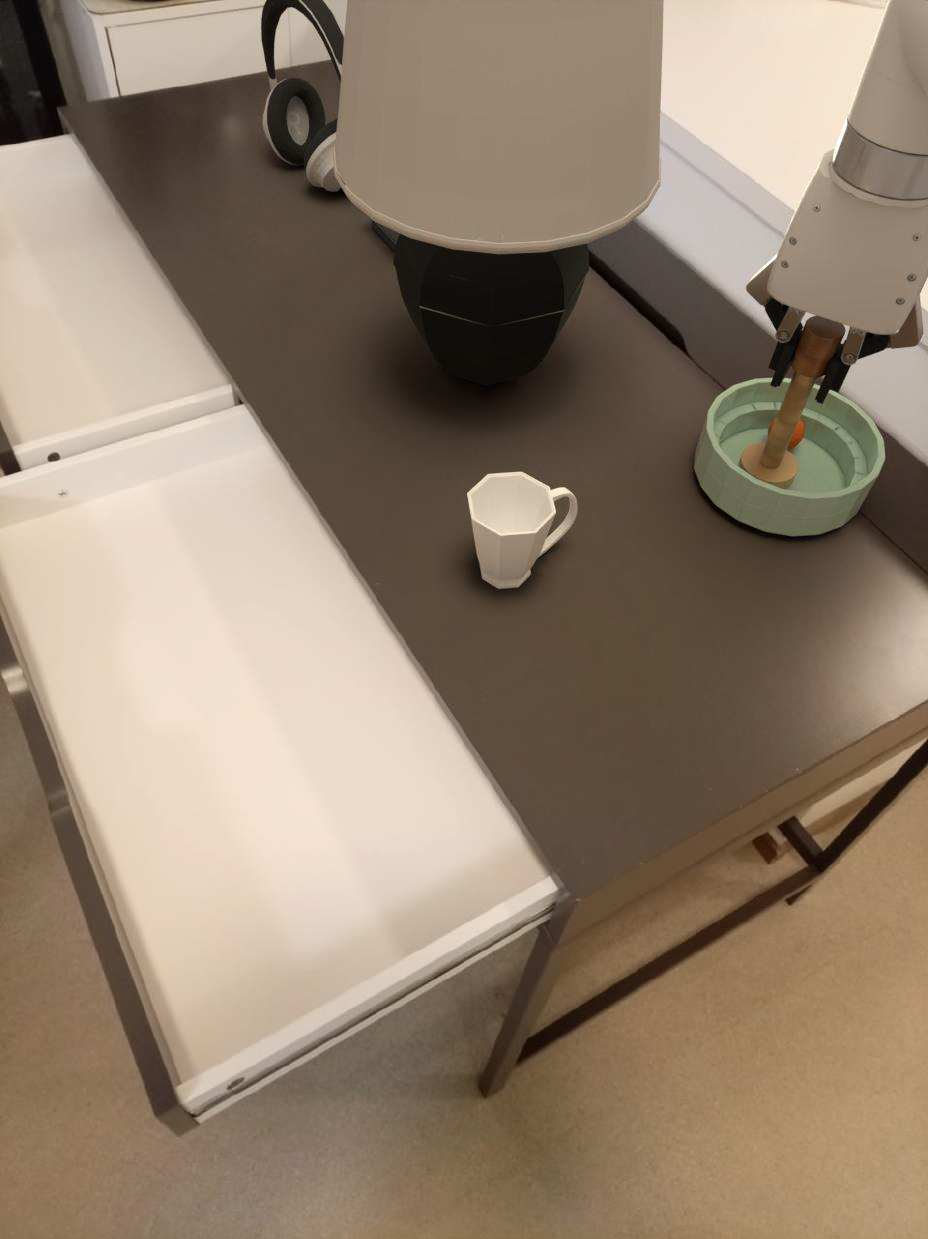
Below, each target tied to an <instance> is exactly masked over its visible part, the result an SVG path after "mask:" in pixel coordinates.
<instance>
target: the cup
mask: <svg viewBox="0 0 928 1239" xmlns="http://www.w3.org/2000/svg"><path fill="white" fill-rule="evenodd" d="M466 496H467V501H468V502H467V503H468V509H469V513H470V521H471V527H472V535H473V540H474V547H475V552H476V556H477V560H478V563H479V568H480V574H481V579H482V580H483V581H485V582H487V583H488V584H490V585H491V586H493V587H495V588H496V589H498V590H502V589H512V588H515V589H516V588H519V587H520V586H521V585H522V584H524V582H525V581H526V580H527V579H528V578H529V577H530V576H531V573H532V572H531V569H532V568H533V566H534V565H535V563H536V561H537V560H538V559H539V557H541V556H542V555H544V554H545V553H546V552H548V550H550V549H551V548H552V547H553V546H554V545H555V544H556V543H557V542H558V541H559V540H561V538H563V537H564V536H565V535H566V533H567V532H568V531H569V530H570V529H571V527H572V526H573V524H574V523H575V521H576V518H577V516H578V510H579V509H578V508H579V505H578V500H577V497H576V495H574V494H573V492H571V490H569V489H568V488H566V487H563V486H562V487H556V488H552V489H551V487H550V486H549V485H547V484H545V483H544V482H541V481H540V480H537V479H536V478H534V477H532V476H530V475H529V474H527V473H525V472H523V471H511V472H496V473H495V472H494V473H488V474H486V475H485V476H484V477H483V478H482V479H481V480H480V481H479V482H477V483H476V485H474V486H473V487H472V488H470V490H469V491H468V492H467V493H466ZM561 498H568V501H569V504H568V505H569V506H568V512H567V514H566V515H565V518H564V520H563V521H562V522H561V523H560V524H559V525H558V526H557V528H556V529H555V530H553V531H552V533H550V535H548V534H549V532H550V530H551V527H552V524H553V522H554V520H555V517H556V514H557V510H556V507H555V502H556V501H557V500H560V499H561Z"/></svg>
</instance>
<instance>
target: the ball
mask: <svg viewBox="0 0 928 1239" xmlns="http://www.w3.org/2000/svg"><path fill="white" fill-rule="evenodd" d="M775 419H776V418H775ZM775 419H774V420H773V421H772V422H771V424H770V426H769V428H768V437H769V434H770V432H771V429H772V427H773V424H774V422H775ZM804 433H805V428H804V424H803V422H802V421H801V419H799V421H798V424H797V426H796V428H795V431H794V433H793V435H792V438H791V440H790V442H789V445H788V447H787V449H791V448H793V447H795V446H797V445H798V444H799V443H800V442H801V441H802V439H803V437H804Z"/></svg>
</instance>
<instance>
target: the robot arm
mask: <svg viewBox="0 0 928 1239" xmlns="http://www.w3.org/2000/svg"><path fill="white" fill-rule="evenodd" d="M779 246H780V247H779V249H778V252H777V253H776V254H775V255H774V256H773V257H772V258H771V259H770V260H768V262H766V264H764V265H763V266H762V267H761V268H760V269H759V270H758V271H757V272H755V274H753V275H752V276H751V278H750V279H749V281H748V282H747V284H746V286H745V290H746V292H747V294H749V296H751V297H752V299H753V300H755V302H757V303H758V304H759V305H760V306H762V307H763V308H764V311H765V313H766V315H767V317H768V319H769V321H770V322H771V324H772V326H773V328H774V329H775V331H776V332H775V338H776V340H777V343H776V346H775V348H774V351H773V353H772V356H771V359H770V361H769V364H768V367H767V368H768V369H769V370H771V371H772V370H773V371H774V374H773V376H772V378H773V379H772V381H771V384H770V386H773V387H777V386H778V387H779V386H780V385H781V383H782V381H783V379H784V378H786V376H787V374H788V373H789V371H790V368H791V367H792V366H791V359H792V356H793V354H794V351H795V349H796V346H797V343H798V341H799V338H800V336H801V333H802V330H803V328H804V325H803V323H802V321H803V319H804V316H805V315H806V313H808V314H811V315H813V316H816V315H817V316H820V317H823V318H826V319H829V320H832V321H835V322H838V323H841V324H843V325H844V326H847V327H849V329H848V332H847V335H846V338H845V339H844V341H843V343H842V342H841V344H840V346H839V348H838V351H837V353H836V354H835V355H834V357H833V359H832V361H831V363H830V365H829V368H828V370H827V372H826V374H825V375H824V376H823V379H822V381H821V384H820V385H819V386H820V388H819V391H818V393H817V395H816V397H815V400H817V402H818V403H820V404H823V402H824V400H825V398H826V397H827V395H828V393H829V391H830V390H832V391H835V392H837V393H840V390H841V388H842V386H843V383H844V381H845V380H846V377H847V376H848V373H849V371H850V369H851V366H853V365H855V364H856V363H857V361H858V360H861V359H863V358H867V357H869V356H872V355H875V354H877V353H880V352H883V351H885V350H886V349H891V350H892V349H893V350H894V349H904V348H905V349H906V348H914V347H916V346H918V345H919V344H920V342H921V340H922V338H923V335H924V324H923V322H924V321H923V314H922V302H921V292H922V291H923V288H924V286H925V284H926V283H927V279H928V0H887V3H886V5H885V9H884V12H883V14H882V17H881V20H880V23H879V26H878V28H877V30H876V33H875V36H874V39H873V42H872V45H871V47H870V50H869V54H868V56H867V59H866V62H865V64H864V68H863V70H862V73H861V76H860V78H859V82H858V84H857V87H856V90H855V93H854V95H853V98H852V101H851V104H850V107H849V109H848V112H847V115H846V118H845V121H844V123H843V127H842V129H841V131H840V135H839V137H838V141H837V143H836V146H835V148H833V149H831V150H828V151H826V152H825V153H824V154H823V156H822V157H821V159H820V160H819V163H818V164H817V165H816V167H815V169H814V170H813V173H812V175H811V178H810V179H809V181H808V183H807V185H806V187H805V189H804V191H803V193H802V195H801V197H800V200H799V202H798V204H797V206H796V208H795V210H794V213H793V215H792V217H791V220H790V222H789V223H788V226H787V229H786V231H785V234H784V237H783V238H782V242H781V243H780V245H779Z"/></svg>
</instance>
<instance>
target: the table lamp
mask: <svg viewBox="0 0 928 1239" xmlns="http://www.w3.org/2000/svg"><path fill="white" fill-rule="evenodd" d="M346 2H347V3H346V11H345V12H346V13H345V24H344V33H343V34H344V46H343V59H342V73H341V84H340V88H339V100H338V101H339V102H338V113H337V119H338V121H337V131H336V141H335V146H334V148H333V161H334V174H335V177H336V179H337V181H338V182H339V184H340V186H341V187H340V188H341V189H342V191H343V192H344V194H345V196H346V197H347V199H348V200H349V201H350V203H352V204H353V205H354V206H355V207H357V208H358V209H359V210H360V211H361V212H362V213H364V214H365V215H366V216H367V217H369V218H370V219H371V221H372V220H374V221H375V222H377V223H379V224H381V225H383V226H385V227H388V228H390V229H392V230H394V231H396V232H398V233H400V235H399V237H398V240H397V243H396V248H395V251H394V256H393V262H392V263H393V264H392V265H393V266H394V268H395V273H396V277H397V282H398V287H399V290H400V294H401V298H402V300H403V304H404V306H405V308H406V311H407V313H408V315H409V317H410V319H411V320H412V322H413V325H414V326H415V328H416V329H417V331H418V333H419V335H420V336H421V339H422V340H423V341H424V343H425V345H426V347H427V348H428V350H429V352H430V354H431V355H432V357H433V358H434V360H435V361H436V363H437V364H438V365H439V367H441V368H442V369H443V370H444V371H445V372H447V373H449V375H452V376H454V377H457V378H459V379H463V380H466V381H470V382H473V383H476V384H480V385H483V386H489V385H494V384H499V383H503V382H507V381H511V380H515V379H518V378H520V377H523V376H526V375H527V374H529V373H531V372H532V371H534V370H535V369H537V367H539V366H540V364H542V362H543V361H544V359H545V358H546V357H547V354H548V353H549V351H550V350H551V349H552V346H553V345H554V343H555V341H556V340H557V338H558V336H559V335H560V333H561V332H562V329H563V328H564V326H565V324H566V323H567V321H568V319H569V318H570V316H571V315H572V313H573V311H574V309H575V306H576V304H577V303H578V301H579V297H580V294H581V292H582V289H583V286H584V283H585V280H586V278H587V274H588V272H589V271H590V253H589V246H588V244H589V243H591V242H594V241H596V240H599V239H601V238H604V237H606V236H609V235H610V234H613V233H616V232H618V231H620V230H622V229H624V227H626V226H628V225H629V224H630V223H631V222H633V221H634V220H635V219H636V218H638V216H640V215H641V214H643V213H644V212H645V211H646V209H648V208H649V206H650V204H651V203H652V201H653V199H654V198H655V195H656V194H657V192H658V190H659V189H660V187H661V185H662V184H661V183H662V182H661V181H662V157H661V156H660V155H661V107H662V106H661V105H662V104H661V100H662V78H663V77H662V75H663V47H664V46H663V45H664V44H663V43H664V42H663V41H664V40H663V39H664V6H665V4H664V0H346Z"/></svg>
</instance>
